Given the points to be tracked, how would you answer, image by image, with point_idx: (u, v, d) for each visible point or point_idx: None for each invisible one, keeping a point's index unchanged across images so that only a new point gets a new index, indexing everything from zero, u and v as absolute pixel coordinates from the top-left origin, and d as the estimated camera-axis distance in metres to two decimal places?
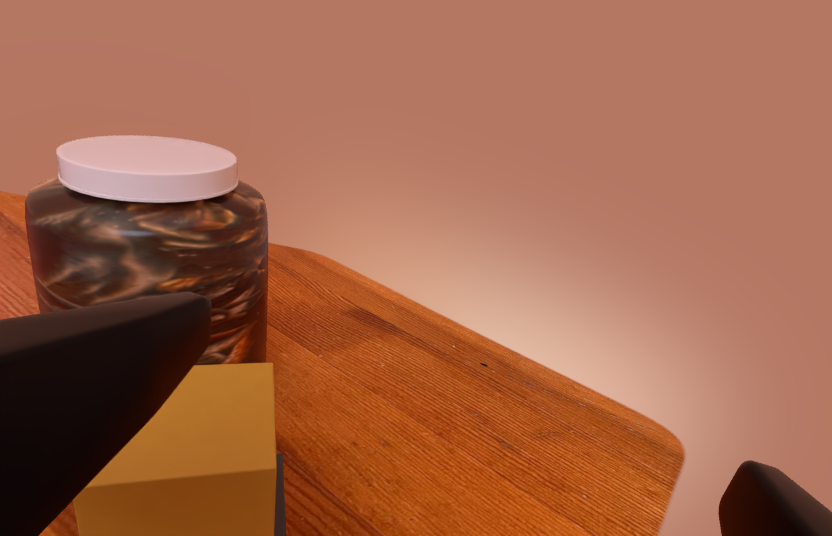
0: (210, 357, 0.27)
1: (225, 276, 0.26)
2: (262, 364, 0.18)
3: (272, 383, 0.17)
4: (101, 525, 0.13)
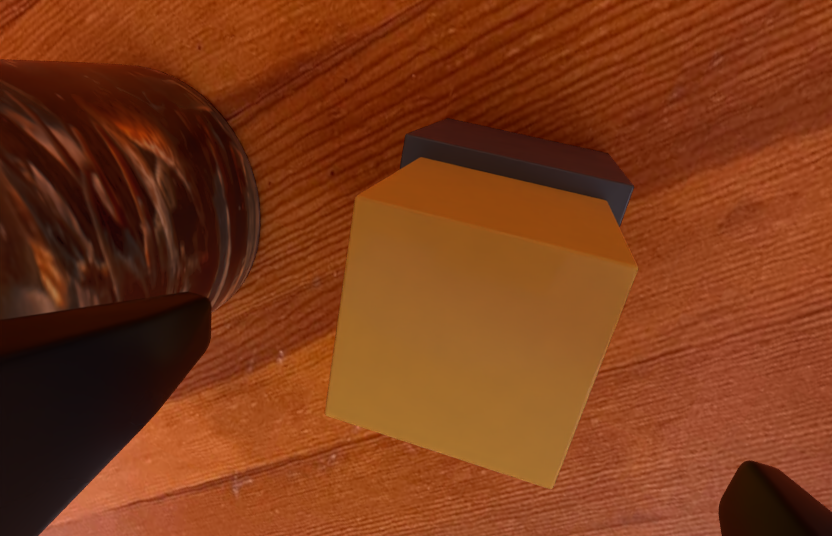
0: (164, 187, 0.17)
1: (11, 185, 0.12)
2: (353, 213, 0.09)
3: (421, 215, 0.09)
4: None
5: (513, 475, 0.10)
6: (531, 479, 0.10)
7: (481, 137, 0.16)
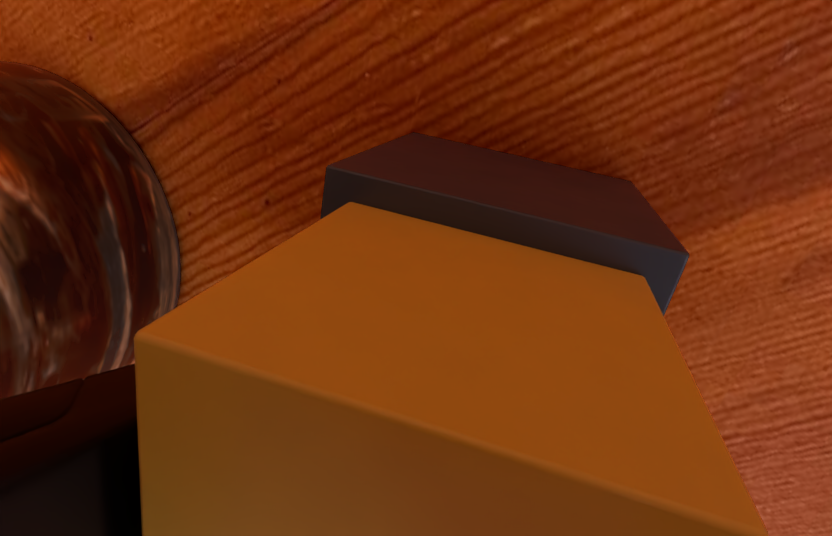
0: (5, 232, 0.12)
1: None
2: (140, 363, 0.04)
3: (268, 382, 0.04)
4: None
5: None
6: None
7: (452, 164, 0.11)
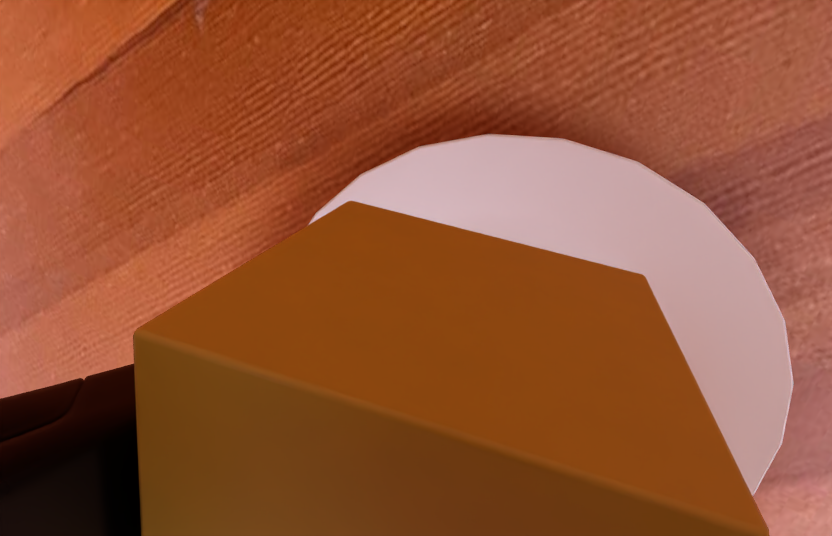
0: None
1: None
2: (138, 361, 0.04)
3: (268, 380, 0.04)
4: None
5: None
6: None
7: None
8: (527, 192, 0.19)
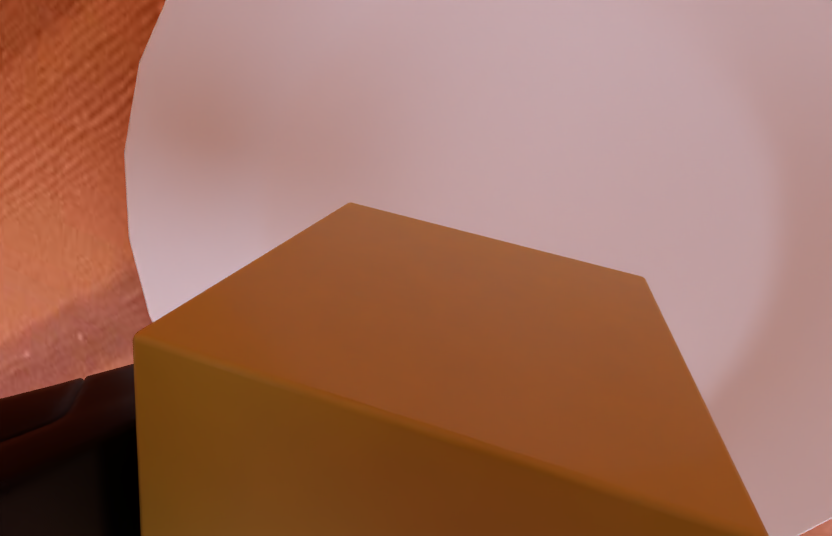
0: None
1: None
2: (137, 366, 0.04)
3: (267, 384, 0.04)
4: None
5: None
6: None
7: None
8: None
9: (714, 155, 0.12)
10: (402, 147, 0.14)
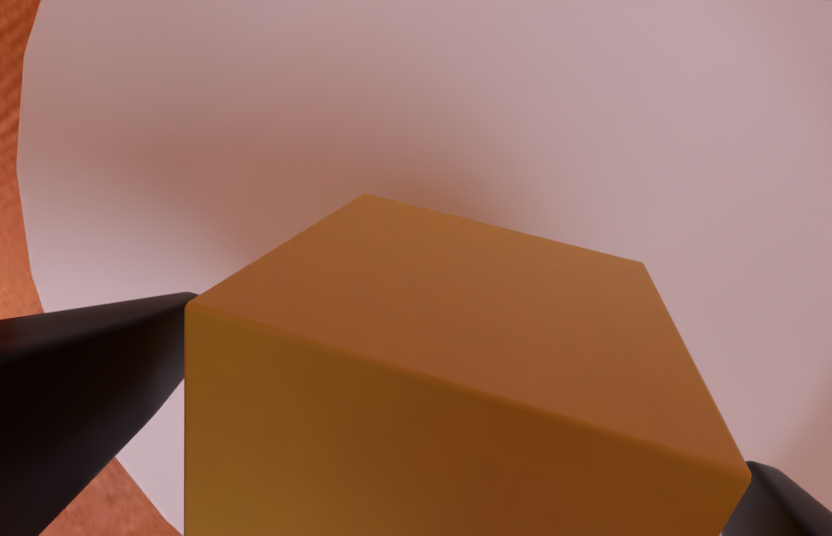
0: None
1: None
2: (187, 333, 0.05)
3: (307, 346, 0.04)
4: None
5: None
6: None
7: None
8: None
9: (774, 175, 0.09)
10: (368, 163, 0.11)
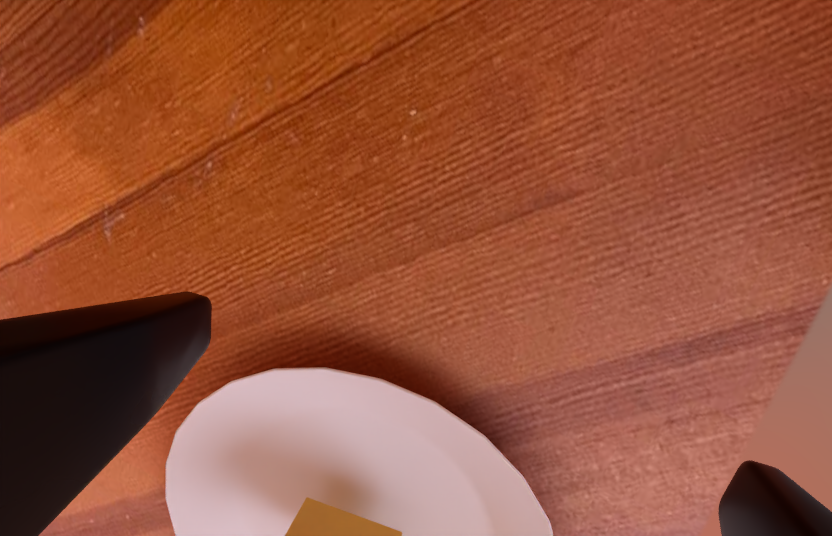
0: None
1: None
2: None
3: None
4: None
5: None
6: None
7: None
8: (363, 401, 0.23)
9: (458, 491, 0.25)
10: (312, 463, 0.27)
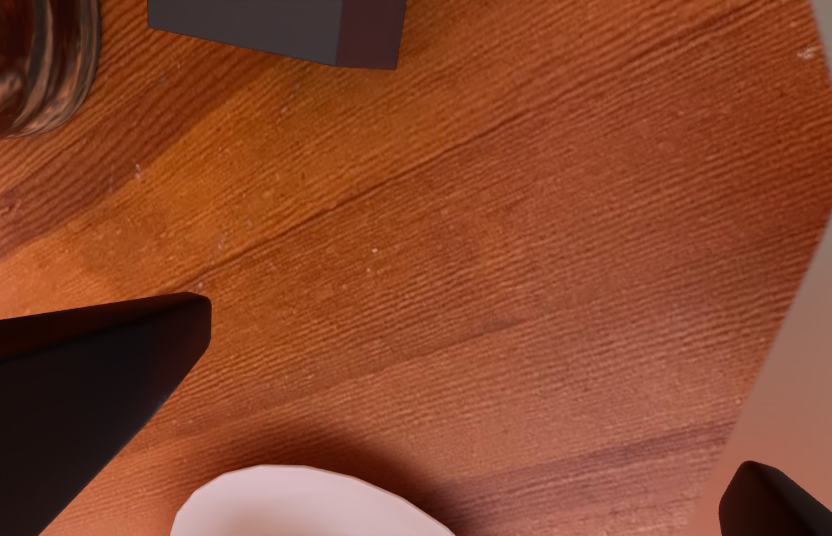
0: None
1: None
2: None
3: None
4: None
5: None
6: None
7: None
8: (342, 491, 0.26)
9: None
10: None
